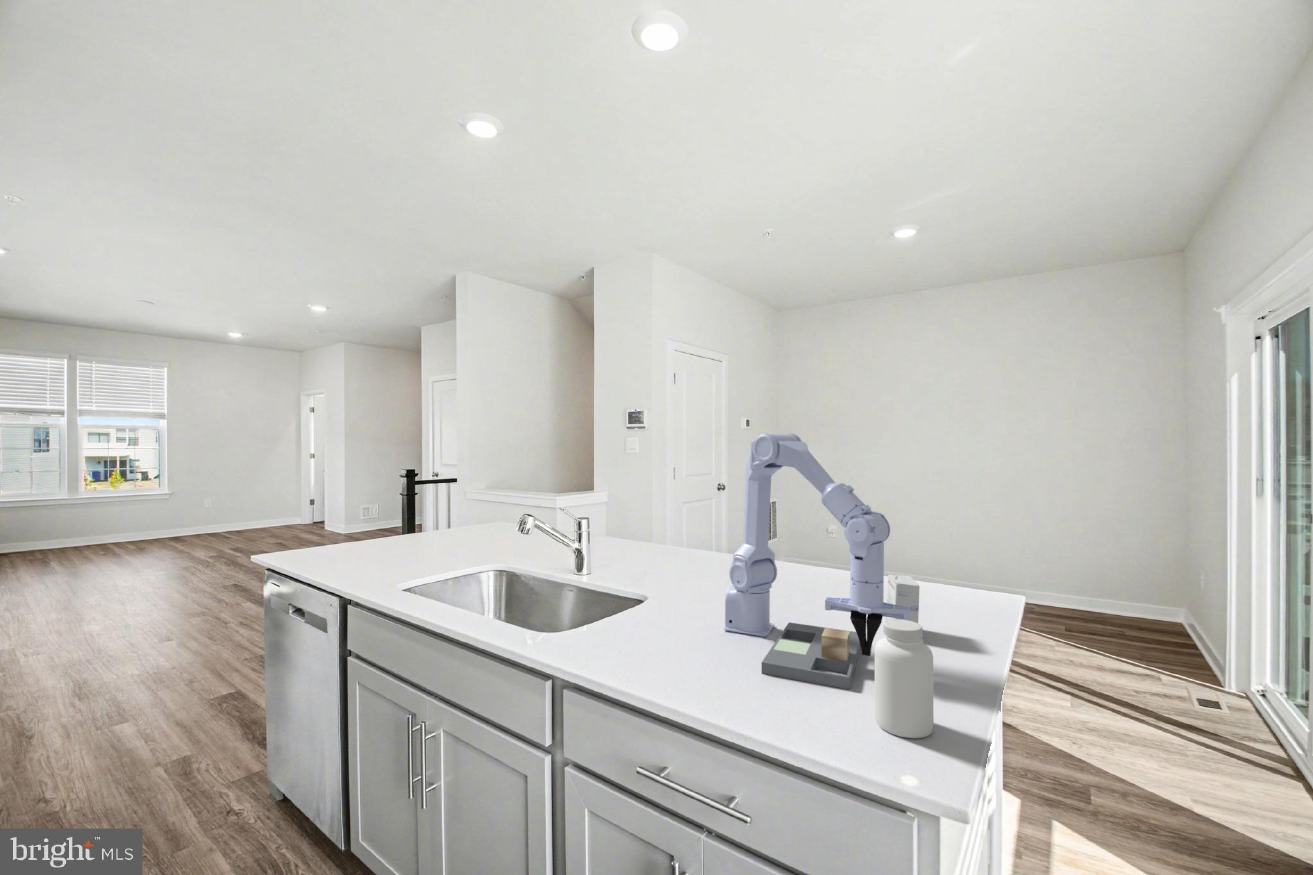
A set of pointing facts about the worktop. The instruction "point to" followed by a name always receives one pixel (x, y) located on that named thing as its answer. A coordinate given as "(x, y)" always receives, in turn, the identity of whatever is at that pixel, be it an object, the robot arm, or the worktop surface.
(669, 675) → the worktop surface
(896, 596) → the ink box
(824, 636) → the block
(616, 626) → the worktop surface
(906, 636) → the pill bottle
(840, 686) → the board
